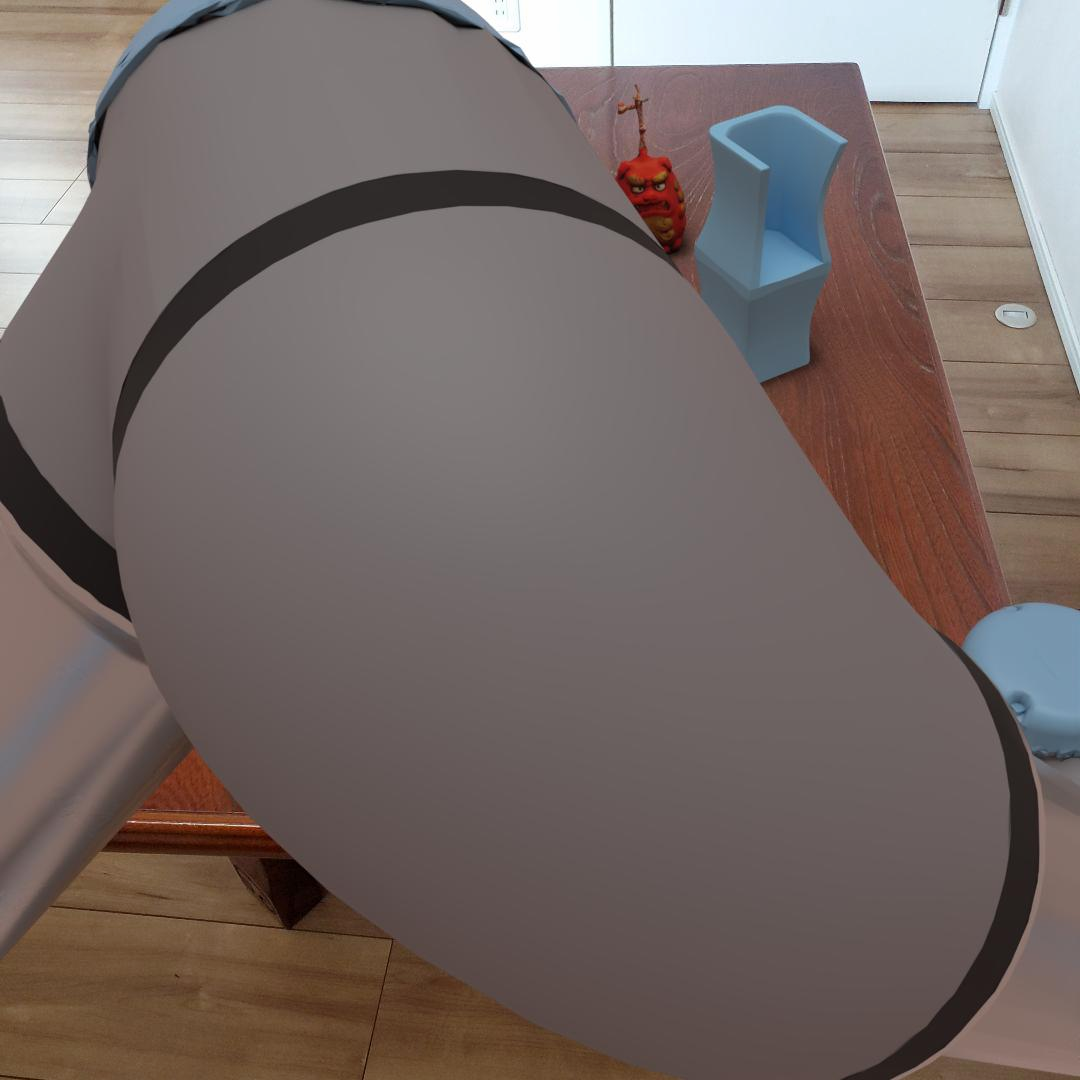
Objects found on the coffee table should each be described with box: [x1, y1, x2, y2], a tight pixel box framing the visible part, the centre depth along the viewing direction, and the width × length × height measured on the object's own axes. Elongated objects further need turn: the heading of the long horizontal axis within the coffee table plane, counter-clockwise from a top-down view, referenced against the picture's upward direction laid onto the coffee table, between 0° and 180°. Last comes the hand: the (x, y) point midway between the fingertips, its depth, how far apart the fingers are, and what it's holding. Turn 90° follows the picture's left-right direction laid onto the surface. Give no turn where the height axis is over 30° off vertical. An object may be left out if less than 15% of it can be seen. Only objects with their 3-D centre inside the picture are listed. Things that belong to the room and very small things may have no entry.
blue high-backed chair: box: [693, 105, 849, 384], centre depth 91 cm, size 8×8×20 cm
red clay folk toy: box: [614, 83, 687, 255], centre depth 106 cm, size 8×7×15 cm
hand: (452, 624), depth 71 cm, fingers closed on plant pot, 8 cm apart
